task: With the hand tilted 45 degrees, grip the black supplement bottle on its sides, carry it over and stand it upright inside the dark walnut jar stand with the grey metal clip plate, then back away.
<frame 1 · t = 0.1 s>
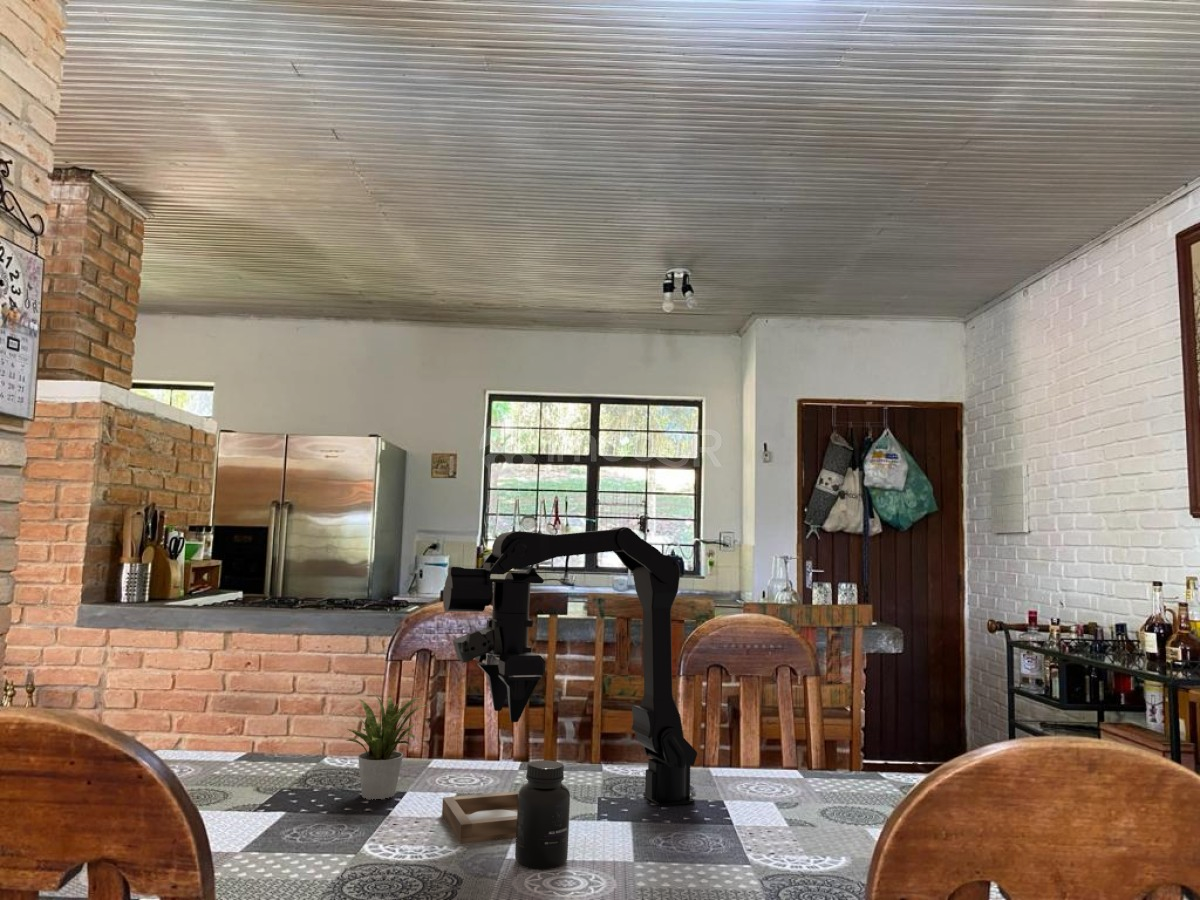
hand: (505, 716, 121), 15 cm above the table, tool pointing down, fingers open, 9 cm apart
supplement bottle: (541, 863, 102), on the table
house plant: (387, 796, 129), on the table
holder: (494, 823, 116), on the table
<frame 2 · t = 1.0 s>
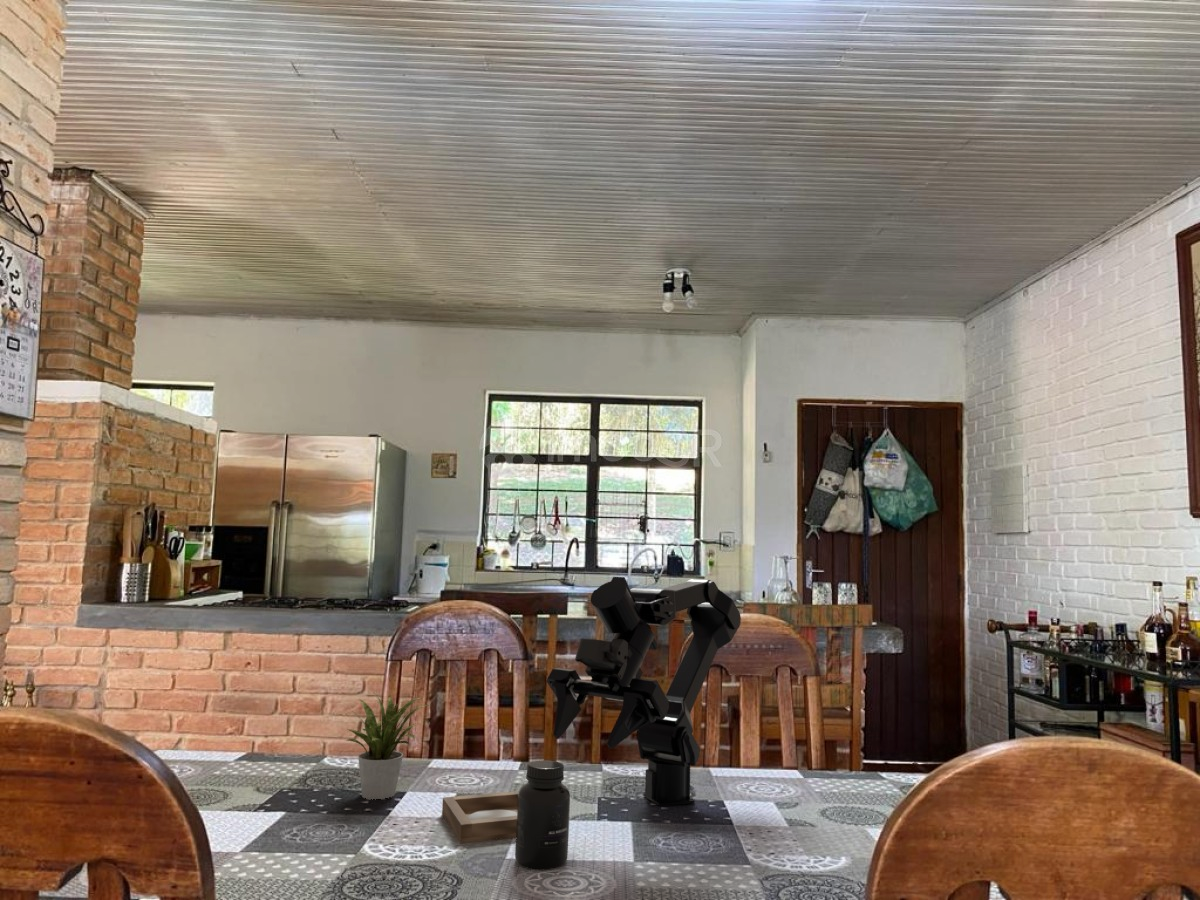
hand: (581, 741, 111), 13 cm above the table, tool tilted 45°, fingers open, 9 cm apart
nothing on the table moved.
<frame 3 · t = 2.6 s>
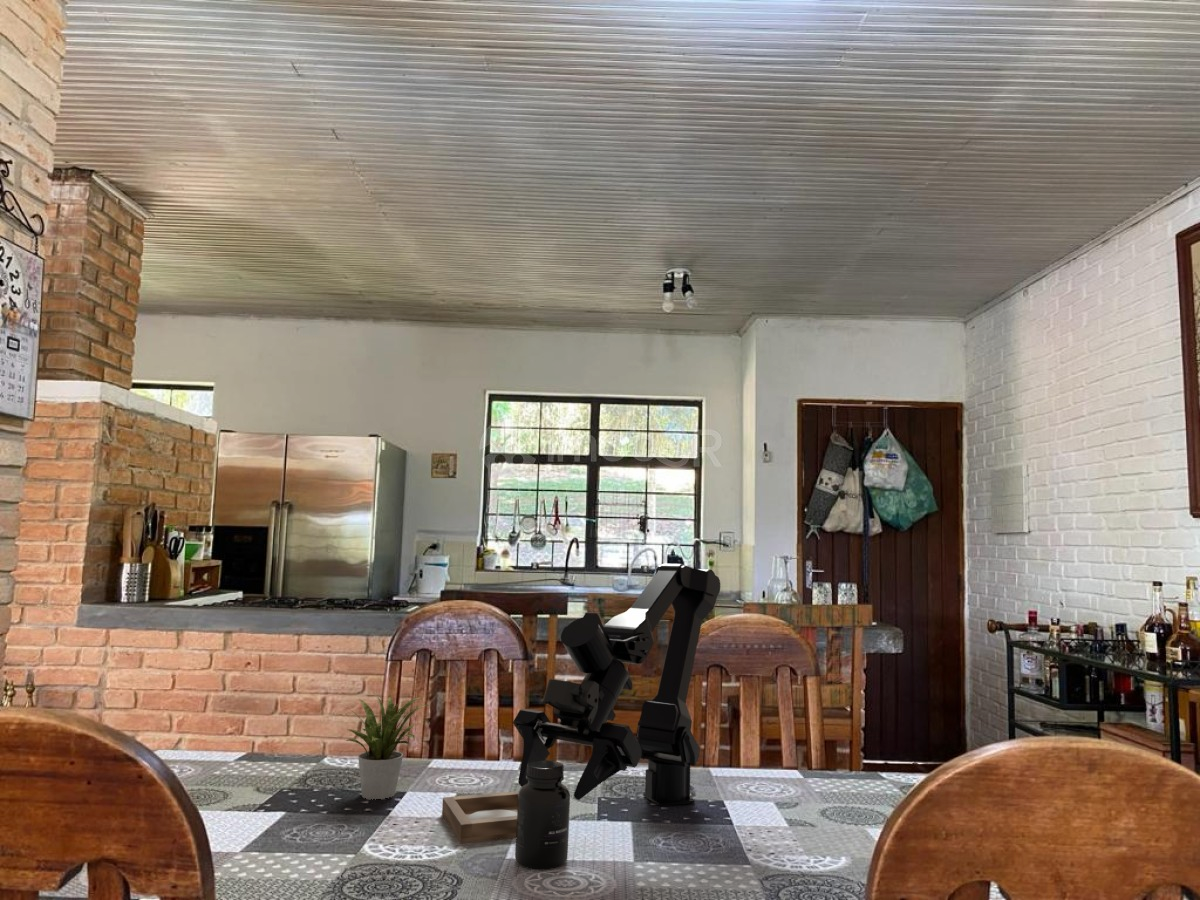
hand: (547, 791, 104), 8 cm above the table, tool tilted 45°, fingers open, 9 cm apart
nothing on the table moved.
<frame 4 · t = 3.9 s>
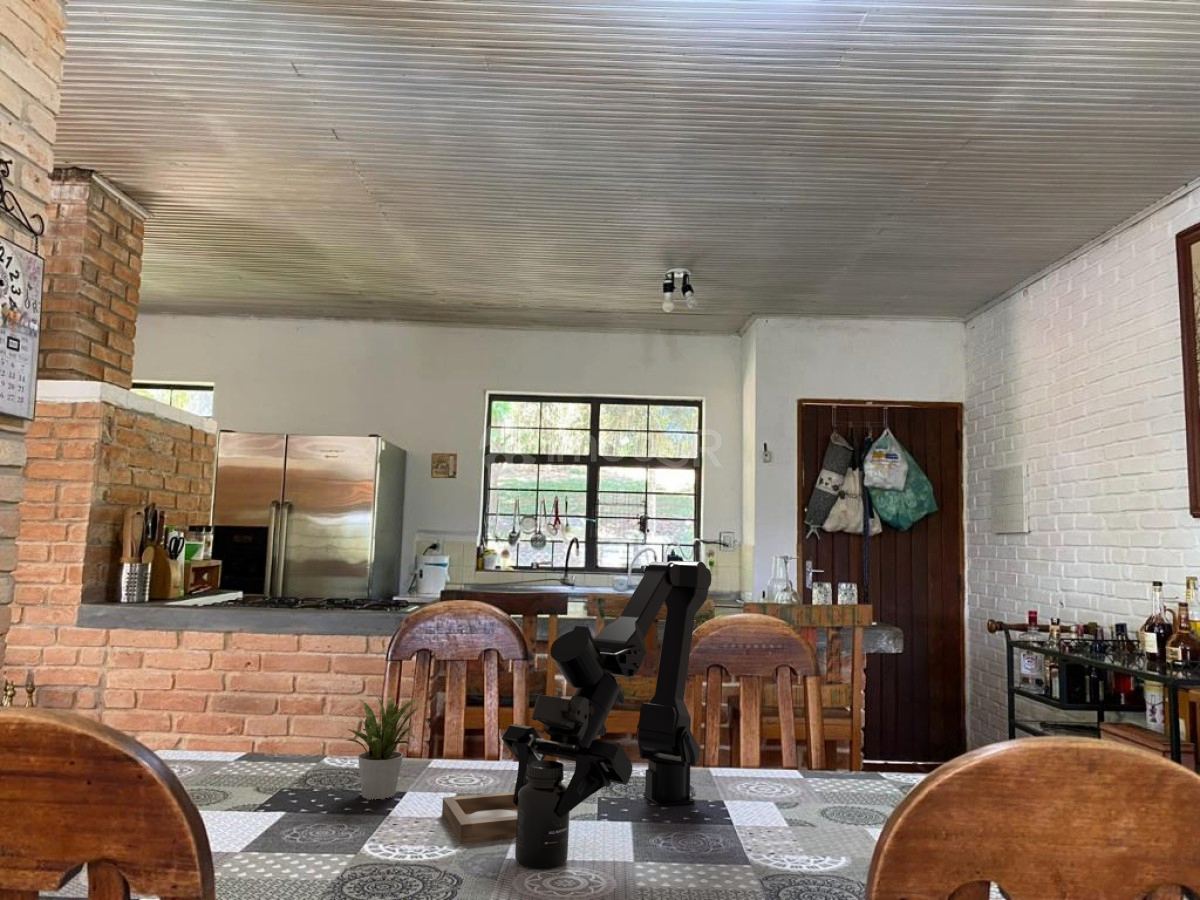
hand: (536, 809, 102), 7 cm above the table, tool tilted 45°, fingers closed on supplement bottle, 7 cm apart
supplement bottle: (541, 862, 102), on the table, touching gripper
everything else where it was.
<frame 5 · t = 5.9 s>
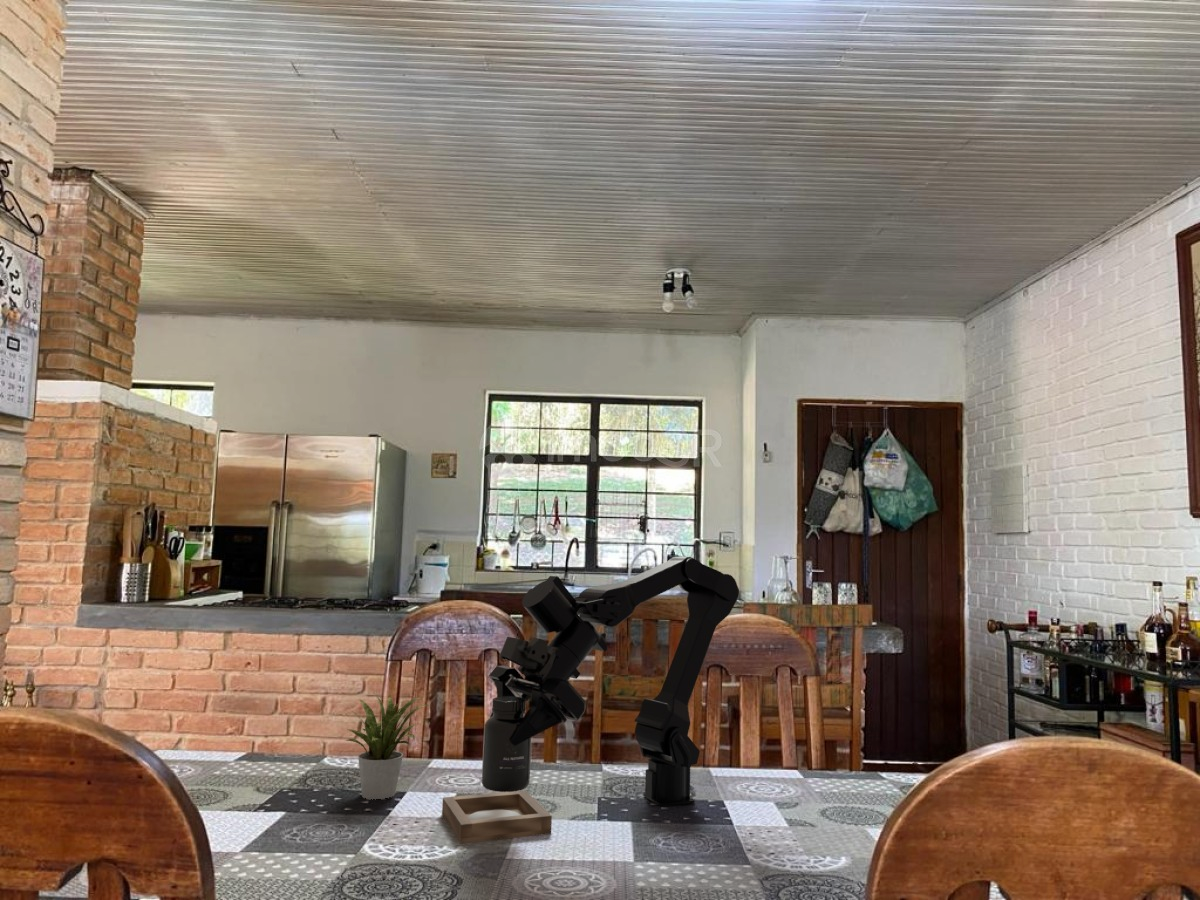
hand: (499, 738, 113), 13 cm above the table, tool tilted 45°, fingers closed on supplement bottle, 7 cm apart
supplement bottle: (506, 787, 112), point 6 cm above the table, touching gripper
everything else where it was.
when the fingers open (8 cm above the table, at t = 8.0 s): supplement bottle stays where it is, resting on holder.
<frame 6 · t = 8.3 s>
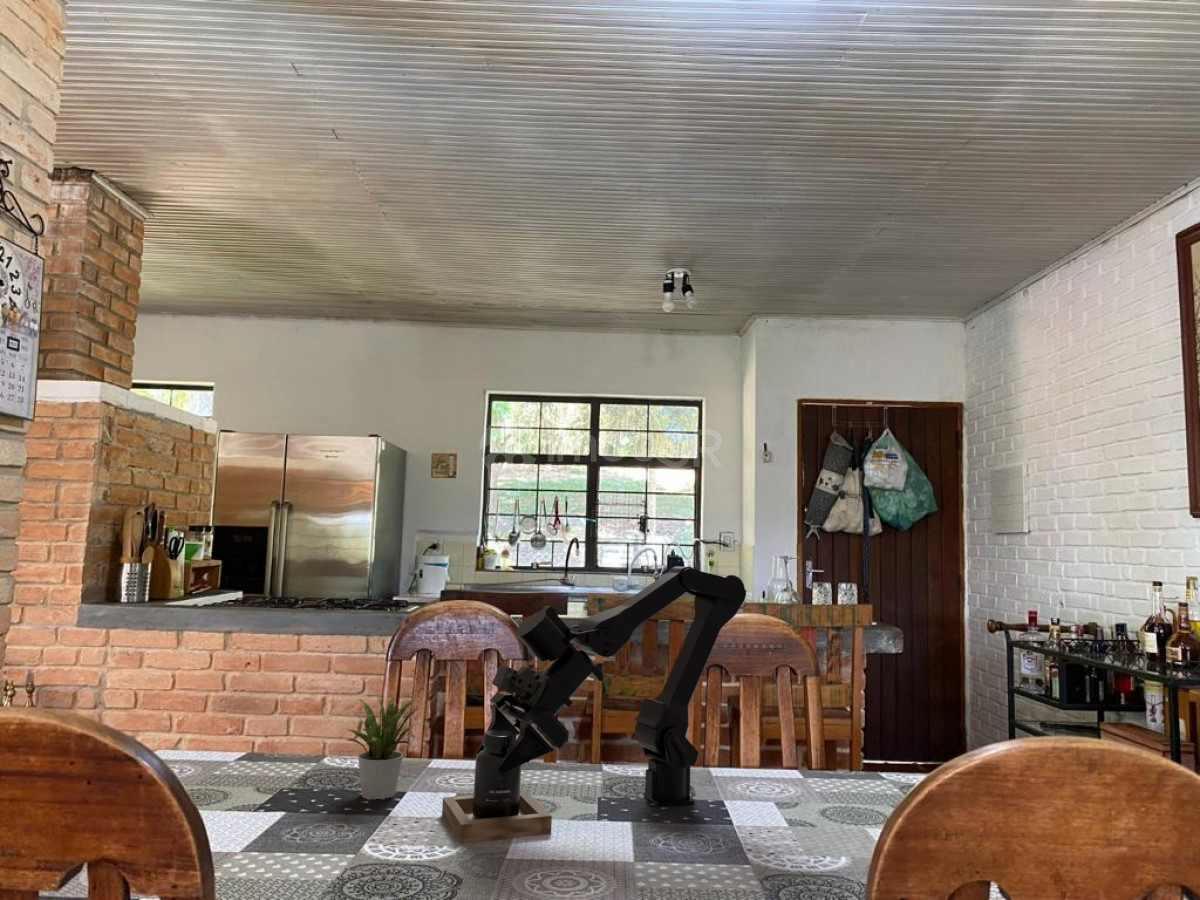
hand: (488, 763, 117), 9 cm above the table, tool tilted 45°, fingers open, 9 cm apart
supplement bottle: (495, 819, 116), point 1 cm above the table, touching holder
everything else where it was.
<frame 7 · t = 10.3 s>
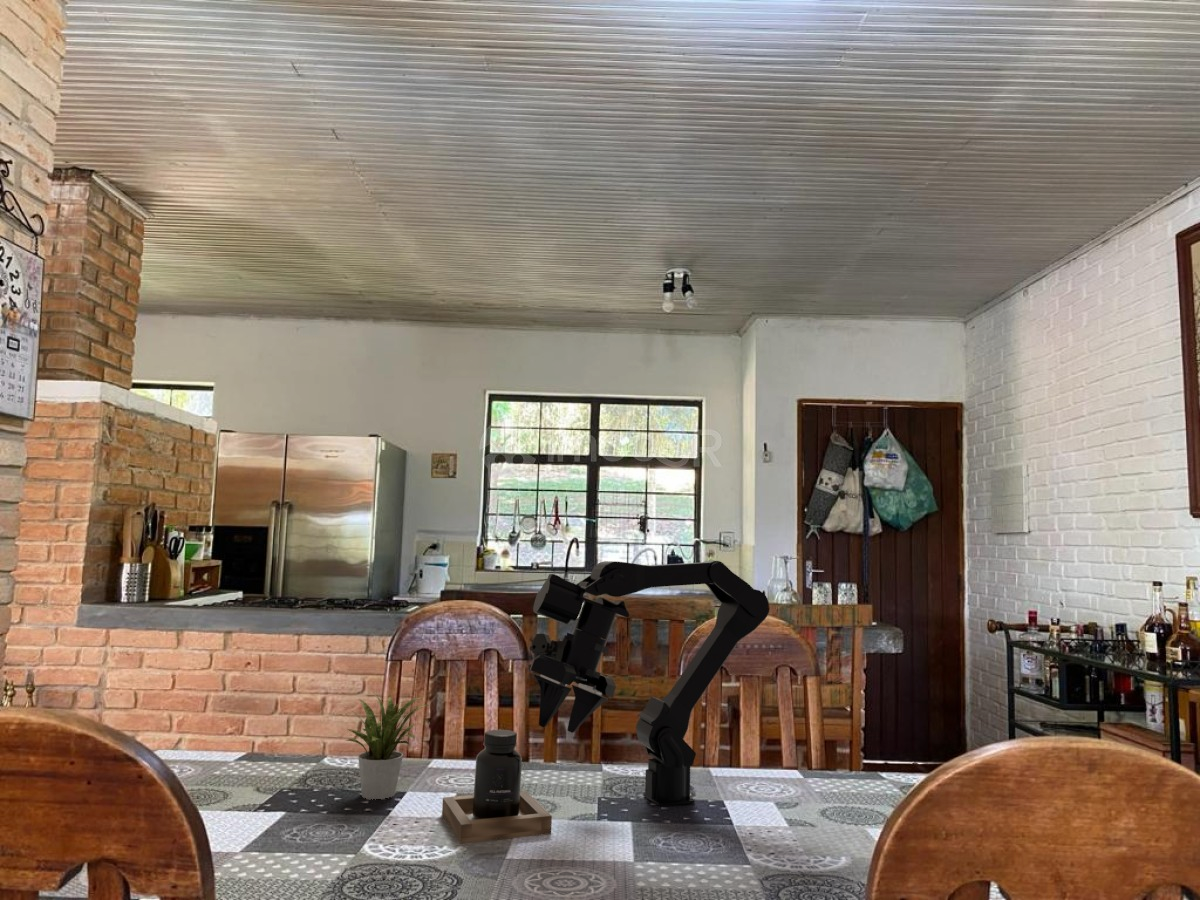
hand: (556, 729, 126), 12 cm above the table, tool tilted 20°, fingers open, 9 cm apart
nothing on the table moved.
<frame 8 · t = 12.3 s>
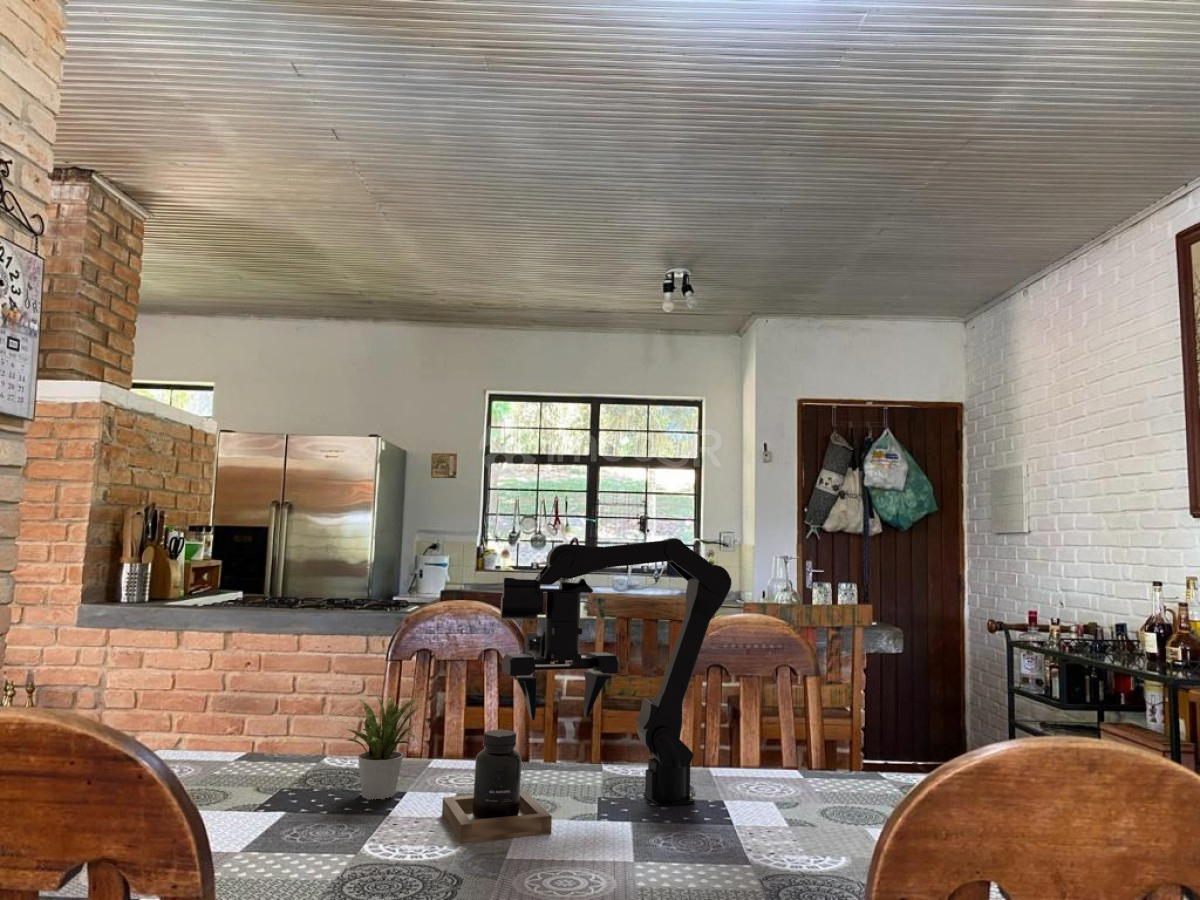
hand: (559, 718, 129), 13 cm above the table, tool pointing down, fingers open, 9 cm apart
nothing on the table moved.
at the end: supplement bottle 0.1 cm off-centre on the holder, point 0.6 cm above the holder's base; supplement bottle tilted 0°; the gripper is holding nothing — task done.
